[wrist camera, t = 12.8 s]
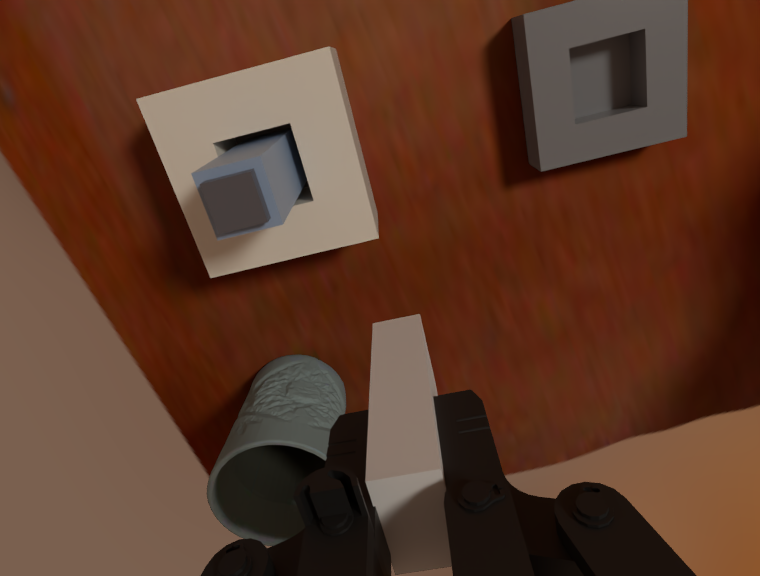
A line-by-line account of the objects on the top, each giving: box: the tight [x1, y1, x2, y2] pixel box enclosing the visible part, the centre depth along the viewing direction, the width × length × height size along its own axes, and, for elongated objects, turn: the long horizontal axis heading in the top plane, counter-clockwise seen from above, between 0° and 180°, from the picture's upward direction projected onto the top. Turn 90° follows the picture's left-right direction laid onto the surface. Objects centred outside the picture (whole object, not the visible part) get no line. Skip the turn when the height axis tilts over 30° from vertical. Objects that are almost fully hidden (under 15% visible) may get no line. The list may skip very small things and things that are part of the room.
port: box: [136, 47, 379, 278], centre depth 35 cm, size 12×12×6 cm
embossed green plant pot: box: [207, 355, 346, 546], centre depth 41 cm, size 10×10×12 cm
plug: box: [191, 128, 307, 240], centre depth 31 cm, size 4×4×13 cm
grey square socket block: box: [511, 0, 688, 172], centre depth 34 cm, size 10×10×3 cm
